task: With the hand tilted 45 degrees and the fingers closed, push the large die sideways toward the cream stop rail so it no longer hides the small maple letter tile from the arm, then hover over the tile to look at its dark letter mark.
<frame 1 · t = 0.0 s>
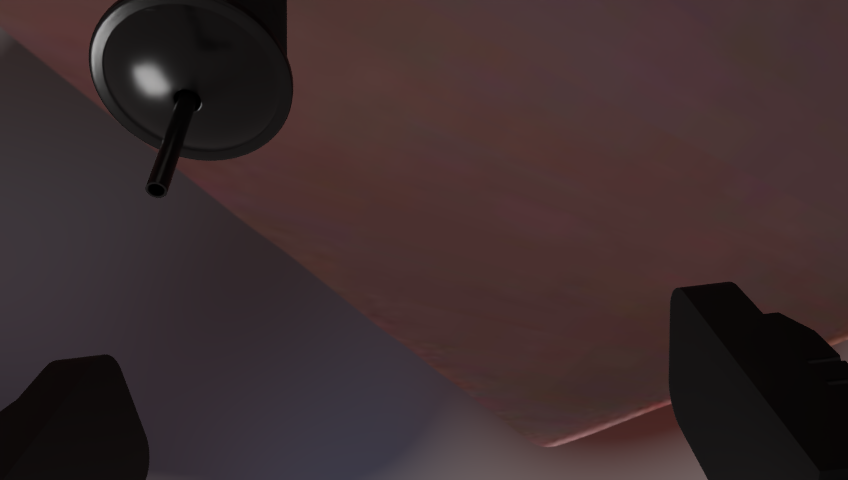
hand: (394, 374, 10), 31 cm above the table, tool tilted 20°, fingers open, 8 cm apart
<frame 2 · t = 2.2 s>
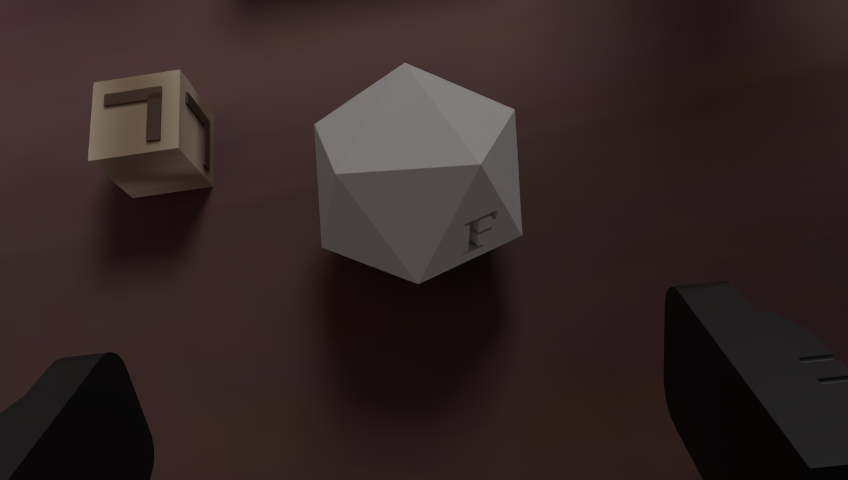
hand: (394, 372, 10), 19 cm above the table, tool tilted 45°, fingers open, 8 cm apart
letter block: (174, 156, 33), on the table
die: (425, 217, 31), on the table
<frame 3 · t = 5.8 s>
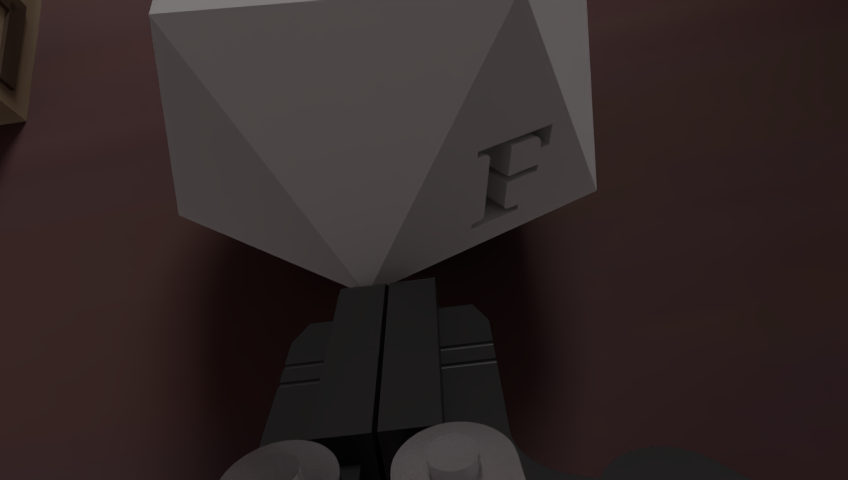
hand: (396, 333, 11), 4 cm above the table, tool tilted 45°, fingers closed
die: (400, 166, 17), on the table, touching gripper
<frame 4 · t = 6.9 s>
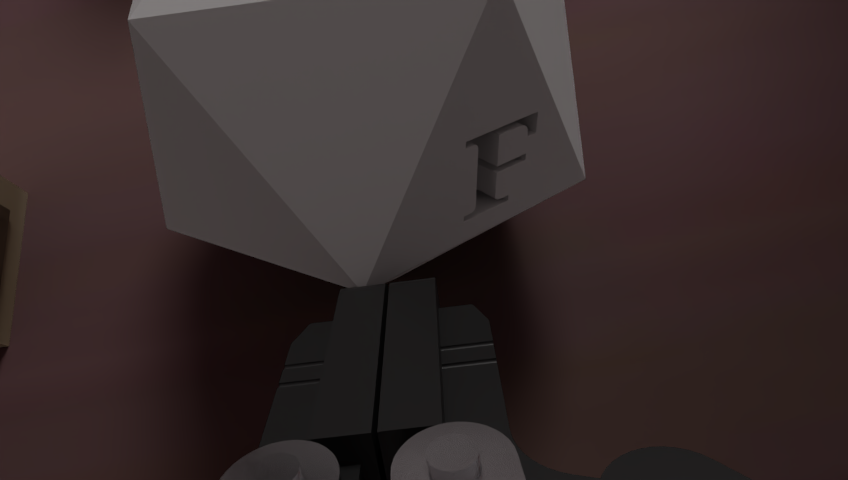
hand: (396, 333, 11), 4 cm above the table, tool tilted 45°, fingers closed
die: (387, 170, 17), on the table, touching gripper
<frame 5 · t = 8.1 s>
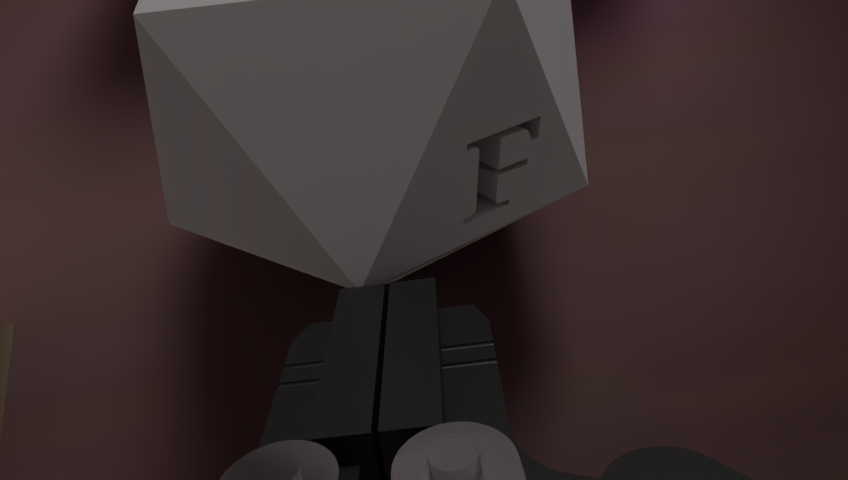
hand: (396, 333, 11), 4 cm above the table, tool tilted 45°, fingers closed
die: (391, 173, 17), on the table, touching gripper
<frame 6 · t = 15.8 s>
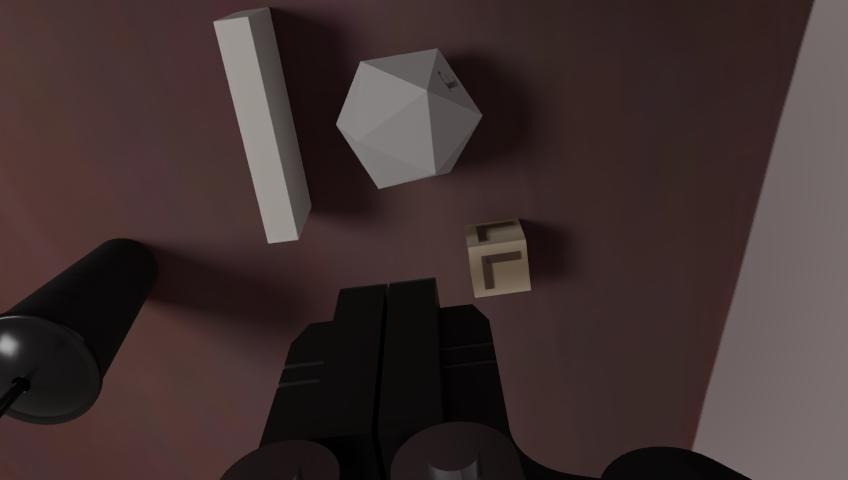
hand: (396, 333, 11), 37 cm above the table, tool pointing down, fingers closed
drinking cup: (126, 266, 52), on the table
stop rail: (277, 114, 47), on the table
letter block: (493, 245, 51), on the table
die: (408, 106, 47), on the table
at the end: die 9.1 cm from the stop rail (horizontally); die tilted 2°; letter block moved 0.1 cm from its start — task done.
